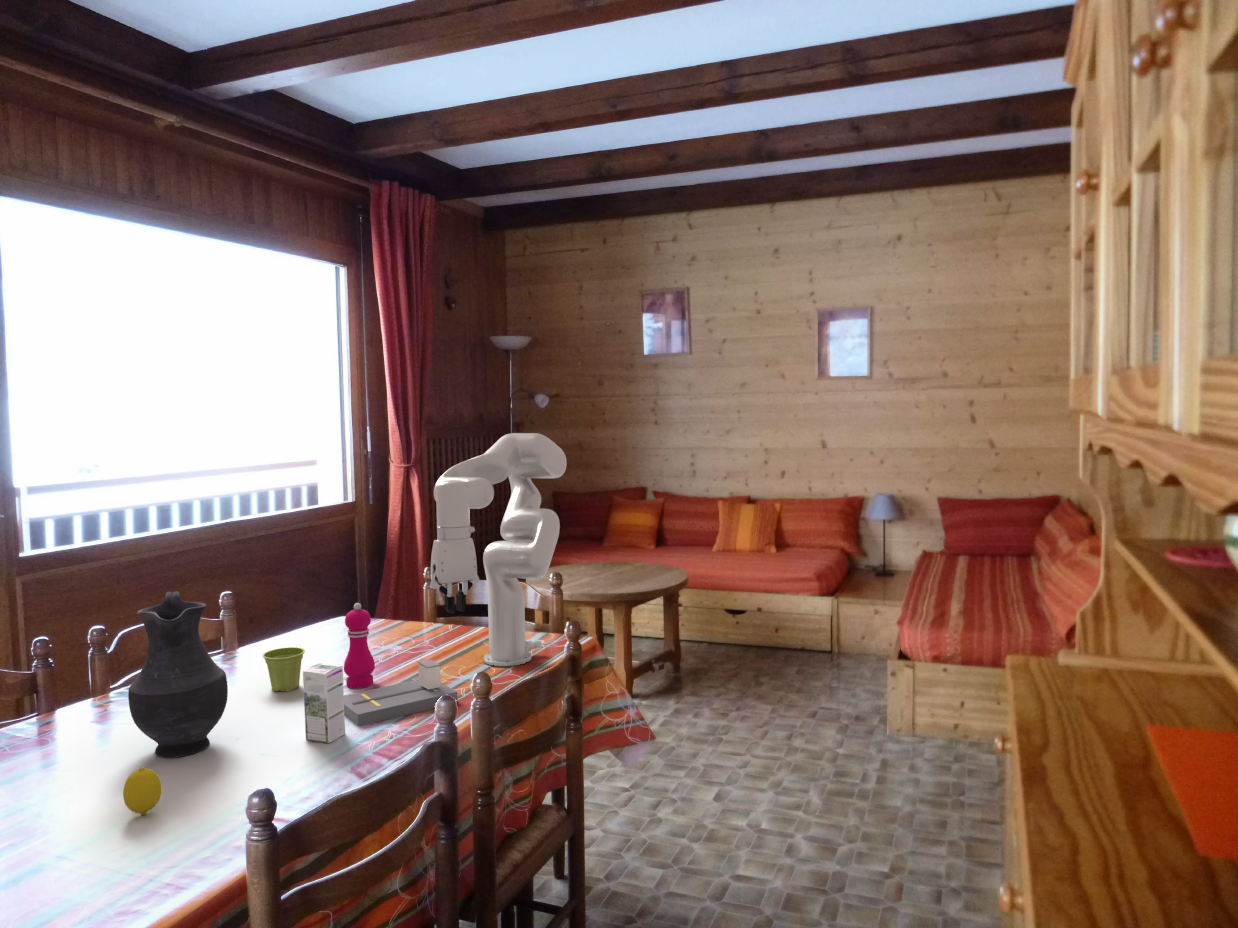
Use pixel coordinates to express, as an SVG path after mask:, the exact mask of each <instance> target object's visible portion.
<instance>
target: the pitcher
mask: <svg viewBox="0 0 1238 928" xmlns="http://www.w3.org/2000/svg"><path fill="white" fill-rule="evenodd" d="M206 608H207V604H206V603H204V602H200V601H187V600H183V598H181V594H180V592H179V591H173V592H172V591H167V592H166V593H165V596H164V599H163V601H162V602H161V603H159V604H155V605H151V606H148V607H144V608H141V609H138V610H137V612H136V615H137V616H138V617H139V618H140V620H141V622H142V623H143V626H144V628H145V631H146V635H147V643H148V644H147V652H146V655H145V660H144V663H143V666H142V668H141V670H140V672H139V674H138V676H137V677H136V678H135V679H134V681H133V682H131V684H130V685H129V688H128V699H127V700H128V706H129V711H130V715H131V717H132V720H133V723H134V725H135V726H136V727H137V728H138V729H139V730H140V731H141V732H142V734H144V735H145V736H147V737H148V738H150V739H151V740H153V741H154V742H155V743H157V745H156V747H155V750H154V754H155V755H156V756H157V757H159V758H164V759H165V758H166V759H167V758H168V759H169V758H170V759H171V758H173V759H174V758H175V759H176V758H181V757H182V758H183V757H185V756H186V757H187V756H190V755H193V754H197V753H199V752H202V751H203V750H205V749H206V748H208V747H209V745H210V744H211V743H210V742H211V741H210V739H209V737H208V734H209V733H211V732H212V730H213V729H214V728H215V726H216V725H217V724H218V723H219V722H220V720H221V719H222V717H223V714H224V712H225V709H226V706H227V702H228V694H229V691H228V690H229V689H228V687H229V686H228V680H227V674H226V673H227V672H225V670H224V669H223V668H221V667H219V666H218V664H217V663H216V662H215V661H214V660H213V659H212V657H211V656H210V654H209V652H208V651H207V649H206V647H205V645H204V642H203V641H202V638H201V636H200V633H199V629H200V628H199V627H200V621H201V619H202V615H203V612H204V611H205V609H206Z"/></svg>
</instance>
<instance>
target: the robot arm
mask: <svg viewBox="0 0 1238 928" xmlns="http://www.w3.org/2000/svg"><path fill="white" fill-rule="evenodd" d="M566 470H567V457H566V454H565V452H564V450H563V449H562V448H561V447H560V446H559V445H557V444H556V443H555V442H554V441H553V440H551V439H550V438H549V437H547V436H546V435H544V434H541V433H537V432H536V433H535V432H530V433H529V432H527V433H526V432H515V433H514V432H512V433H507V434H504V435H502V436H501V437H500V438H499V439H498V440H497V441H496V442H495V443H494V444H492V446H490V447H489V448H488V449H487V450H486V451H485V452H484V453H483V454H481V455H477V456H475V457H472V458H470V459H467V460H464V461H462V462H459V463H457V464H455V465H453V466H451V467H450V468H448V469H447V470H446V471H445V472H444V473H443V474H441V475H440V477H439V478H438V479H437V481H436V483H435V484H434V486H433V498H434V500H435V502H436V534H437V535H436V539H434V540H433V544H432V548H431V557H430V580H431V581H430V583H429V588H431V589H433V590H437V591H439V592H440V593H441V595H443V596H444V610H445V611H446V612H447V613H449V614H451V615H454V614H455V613H456V611H459V612H461V613H465V612H466V607H467V594H468V593H469V591H470V589H471V588H472V587H473V586H474V585H476V584H478V583H479V582H480V577H479V575H478V564H477V555H476V547H475V544H474V539H473V538H472V537H471V535H472V533H475V531H476V529H475V526H472V525H471V520H470V519H471V517H470V516H471V515H470V514H471V512H470V509H471V510H472V509H473V510H475V509H478V510H480V509H483V508H486V507H487V506H489V505H490V504H491V503H492V501H493V499H494V496H495V490H494V486H493V485H497V484H498V483H499V484H500V483H502V482H503V481H505V480H506V479H507V478H508V480H509V484H510V490H511V491H510V492H511V493H510V498H509V500H508V503H507V506H506V509H505V512H504V515H503V518H502V521H501V524H500V527H499V528H500V532H499V533H500V536H501V537H502V539H503V540H497V541H492V542H491V543H489V544H488V545H487V546H486V547H485V548H484V552H483V553H482V555H483V556H482V561H483V568H484V573H485V578H486V584H487V586H486V587H487V611H488V612H487V613H488V616H487V619H488V620H487V621H488V652H487V653H485V654H484V656H483V658H482V659H483V662H484V663H485V664H486V665H489V666H493V665H494V666H493V667H513V666H514V665H515V666H521V665H523V664H527V663H528V662H530V661H531V660H532V653H531V651H532V650H536V649H537V650H538V649H541V648H542V642H541V640H535V641H532V640H526V619H525V618H526V615H525V613H526V611H525V591H524V588H523V586H522V584H521V583H520V581H519V579H524V580H525V579H527V580H539V579H542V578H543V577H544V576H546V574H547V573H548V571H549V568H550V567H551V566H550V565H551V563H552V559H553V555H554V553H555V549H556V545H557V543H558V539H559V536H560V528H561V525H560V518H559V516H558V514H557V513H556V512H555V511H554V510H553V509H550V508H540V507H541V505H542V495H541V493H540V491H539V489H538V488H537V487H536V486H535V484H534V483H533V481H532V479H558V478H561V477H562V476H563V475H564V473H565V472H566ZM456 583H457V592H456V593H455V596H454V595H453V584H456ZM455 605H456V606H455ZM526 662H527V663H526ZM520 664H521V665H520ZM515 666H514V667H515Z"/></svg>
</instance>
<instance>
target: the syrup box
mask: <svg viewBox="0 0 1238 928" xmlns="http://www.w3.org/2000/svg"><path fill="white" fill-rule="evenodd" d="M302 681H303V704H304V706H303V707H304V724H305V726H304V727H305V729H304V730H305V741H310V742H317V743H324V744H330V743H332V742H333V741H336V740H338V739H339V738H340V737H342V736H344V735H346V720H345V717H346V716H345V715H344V694H345V693H344V666H343V665H340V664H339V665H338V664H337V665H336V664H327V663H318V664H315V665H312V666H310V667H308V668H307V669H305V670H302Z"/></svg>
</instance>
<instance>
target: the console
mask: <svg viewBox="0 0 1238 928" xmlns="http://www.w3.org/2000/svg"><path fill="white" fill-rule="evenodd" d="M445 694H448V695H450V696H452V697H454V698H455V699H456V700H457V702H459V701H458V700H459V699H458V698H459V697H458V691H457V690H455V689H453V688H451V687H450V686H448V685H446V684H444V683H442V682H441V681H440V687H438V688H433V689H429V690H428V689H426V688H425V687H423V686H421V685H419V679H415V680H411V681H406V682H401V683H395V684H392V685H387V686H382V687H378V688H374V689H368V690H363V691H359V692H358V691H357V692H354V693H350V694H349V693H348V694H345V695H344V717H346V718H347V719H348V720H350V722H352V723H353V724H355V725H356V726H357V727H360V726H365V725H369V724H373V723H377V722H382V721H385V720H391V719H394V718H398V717H399V718H400V717H402V716H407V715H412V714H416V713H421V712H423V711H428V710H432V709H435V708H434V706H435V703H436V702H437V700H438V699H439V698H440V697H441V696H442V695H445Z"/></svg>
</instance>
